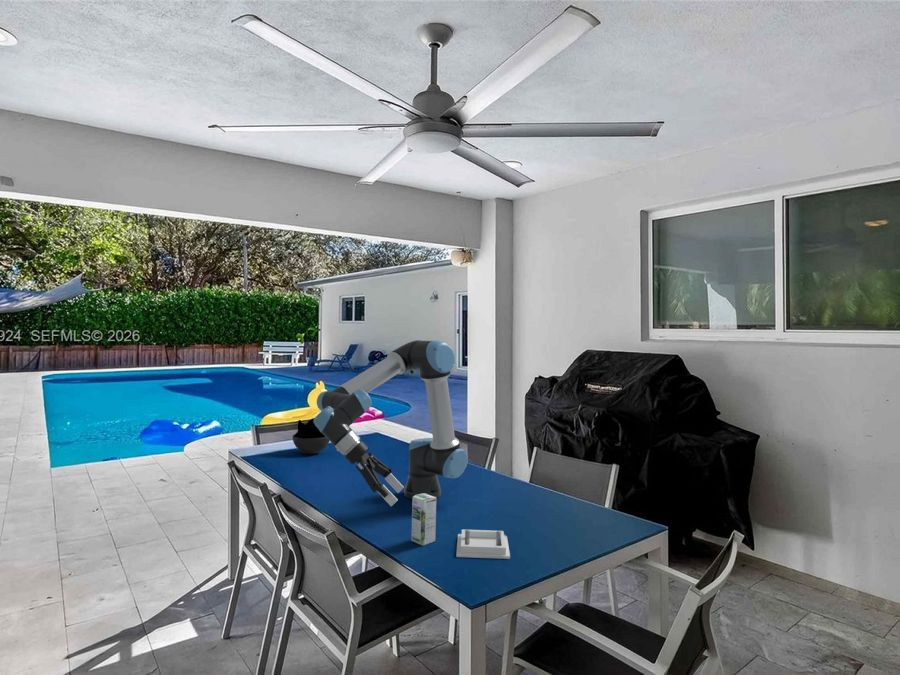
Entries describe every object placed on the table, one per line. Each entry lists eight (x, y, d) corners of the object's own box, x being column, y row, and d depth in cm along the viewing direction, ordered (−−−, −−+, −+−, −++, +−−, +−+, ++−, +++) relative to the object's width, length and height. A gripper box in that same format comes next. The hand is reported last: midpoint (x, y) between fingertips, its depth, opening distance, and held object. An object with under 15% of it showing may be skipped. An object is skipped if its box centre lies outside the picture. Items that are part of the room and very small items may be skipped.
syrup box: (410, 541, 170) (411, 495, 170) (424, 536, 174) (425, 492, 174) (422, 546, 166) (423, 500, 166) (436, 541, 170) (437, 496, 170)
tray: (458, 536, 174) (458, 521, 174) (506, 538, 174) (507, 523, 174) (456, 556, 158) (456, 540, 158) (510, 559, 158) (510, 542, 158)
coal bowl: (332, 449, 298) (333, 416, 298) (326, 458, 278) (327, 422, 278) (296, 449, 297) (297, 415, 296) (288, 458, 277) (288, 422, 276)
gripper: (353, 447, 183) (395, 492, 182) (333, 465, 158) (382, 517, 157) (369, 432, 183) (411, 478, 182) (351, 448, 158) (400, 500, 157)
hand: (398, 496), depth 170 cm, fingers open, 13 cm apart
